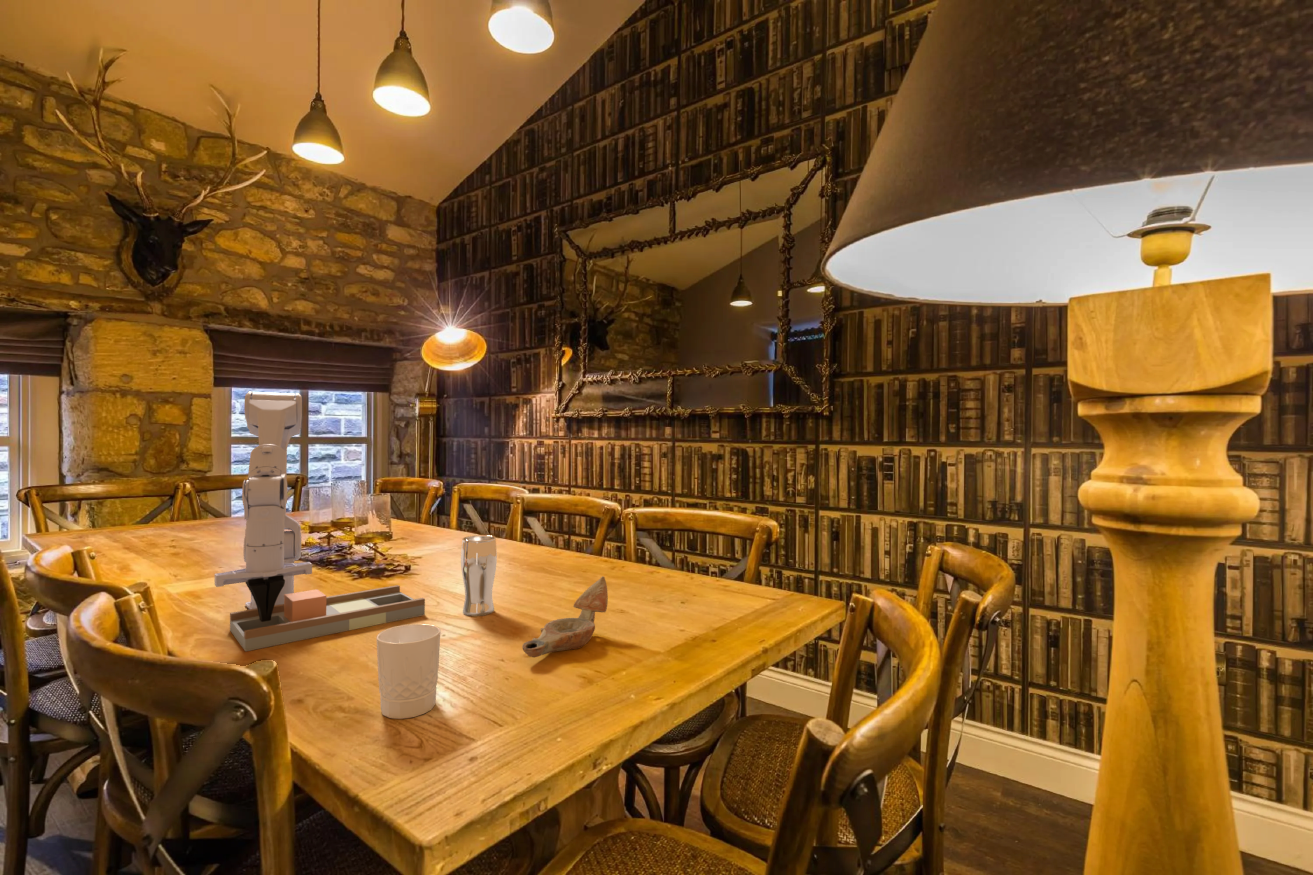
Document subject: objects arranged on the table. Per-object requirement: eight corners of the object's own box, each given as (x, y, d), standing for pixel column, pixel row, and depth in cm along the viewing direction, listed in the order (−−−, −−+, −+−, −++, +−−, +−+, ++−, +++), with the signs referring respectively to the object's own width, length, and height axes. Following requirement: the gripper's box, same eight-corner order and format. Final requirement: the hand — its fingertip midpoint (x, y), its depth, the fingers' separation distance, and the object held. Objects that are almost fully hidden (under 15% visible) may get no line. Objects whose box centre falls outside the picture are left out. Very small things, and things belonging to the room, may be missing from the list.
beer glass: (486, 618, 120) (486, 541, 120) (453, 615, 121) (454, 540, 121) (502, 607, 127) (502, 535, 127) (471, 605, 128) (471, 534, 128)
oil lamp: (622, 633, 112) (622, 579, 112) (545, 673, 94) (546, 608, 94) (584, 625, 116) (584, 573, 116) (503, 661, 98) (504, 599, 98)
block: (284, 615, 113) (284, 594, 113) (317, 609, 117) (317, 589, 117) (292, 623, 109) (292, 601, 109) (326, 617, 113) (326, 595, 113)
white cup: (388, 695, 85) (389, 623, 85) (446, 693, 86) (447, 623, 86) (366, 722, 77) (366, 643, 77) (430, 720, 78) (431, 642, 78)
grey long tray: (229, 630, 111) (230, 612, 111) (397, 599, 132) (398, 585, 132) (245, 651, 101) (245, 632, 101) (424, 614, 121) (424, 598, 121)
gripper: (219, 552, 101) (219, 634, 101) (316, 542, 111) (316, 616, 111) (212, 546, 106) (212, 624, 106) (306, 536, 116) (306, 608, 116)
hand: (265, 619), depth 109 cm, fingers closed
